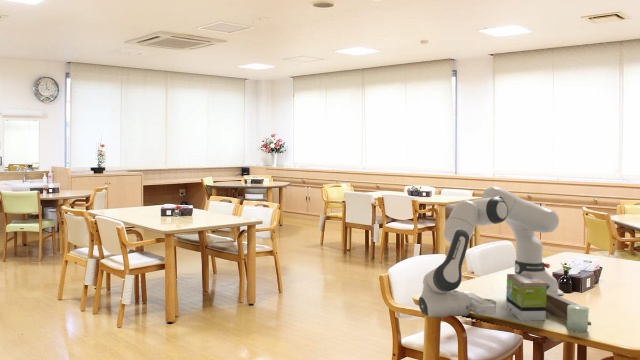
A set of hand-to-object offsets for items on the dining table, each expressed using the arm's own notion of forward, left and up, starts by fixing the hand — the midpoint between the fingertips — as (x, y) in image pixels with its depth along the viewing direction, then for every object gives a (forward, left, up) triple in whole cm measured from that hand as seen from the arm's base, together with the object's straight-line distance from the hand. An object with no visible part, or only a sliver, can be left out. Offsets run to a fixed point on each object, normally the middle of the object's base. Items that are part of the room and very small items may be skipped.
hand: (494, 302), depth 224 cm
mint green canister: (-22, +19, -6) cm, 30 cm away
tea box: (-13, 0, -6) cm, 15 cm away
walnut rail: (-28, +3, -5) cm, 29 cm away
